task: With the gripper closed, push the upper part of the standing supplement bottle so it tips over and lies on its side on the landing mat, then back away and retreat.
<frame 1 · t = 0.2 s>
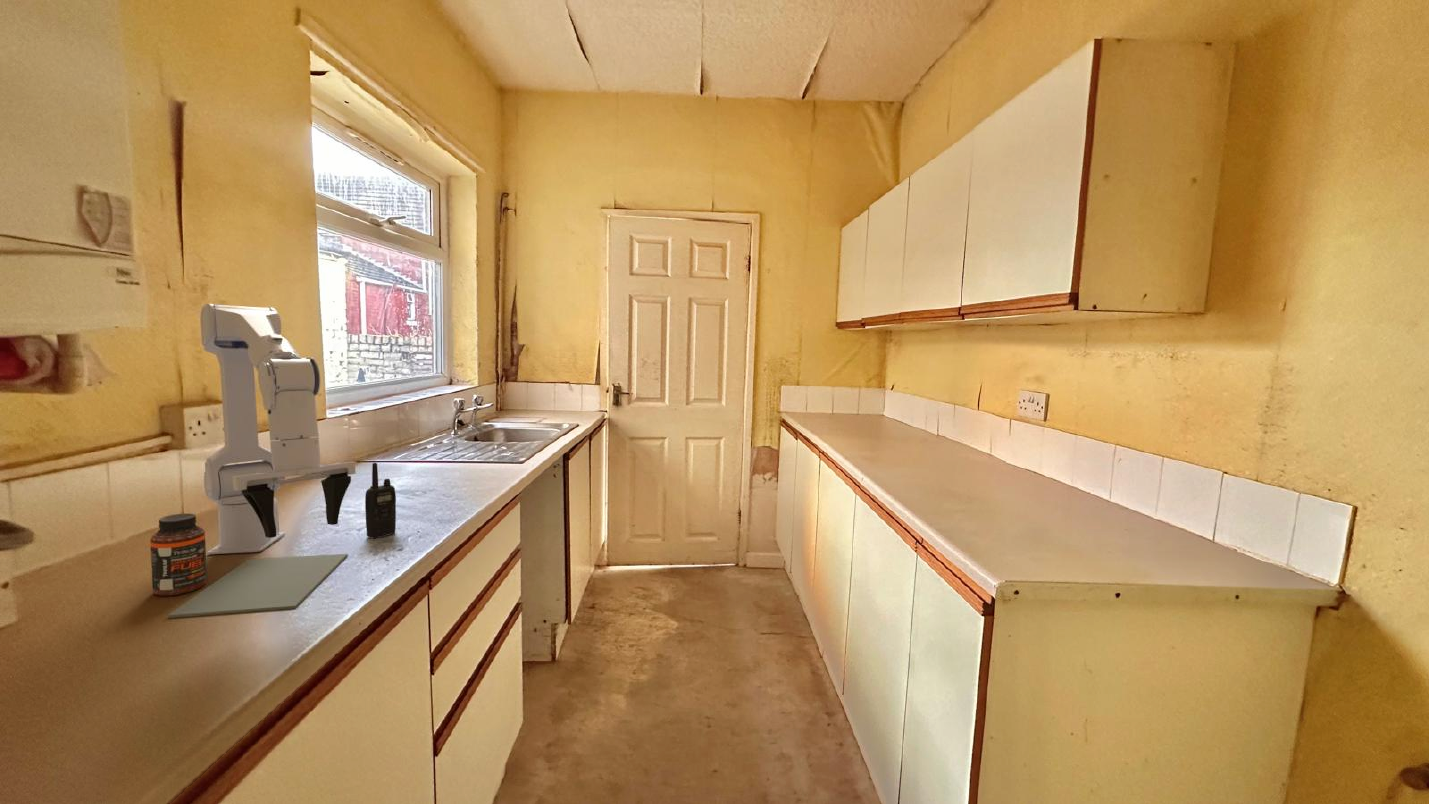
hand: (302, 530, 81), 11 cm above the worktop, tool pointing down, fingers open, 7 cm apart
landing mat: (269, 582, 86), on the worktop
supplement bottle: (180, 590, 83), on the worktop
two-way radio: (379, 535, 109), on the worktop
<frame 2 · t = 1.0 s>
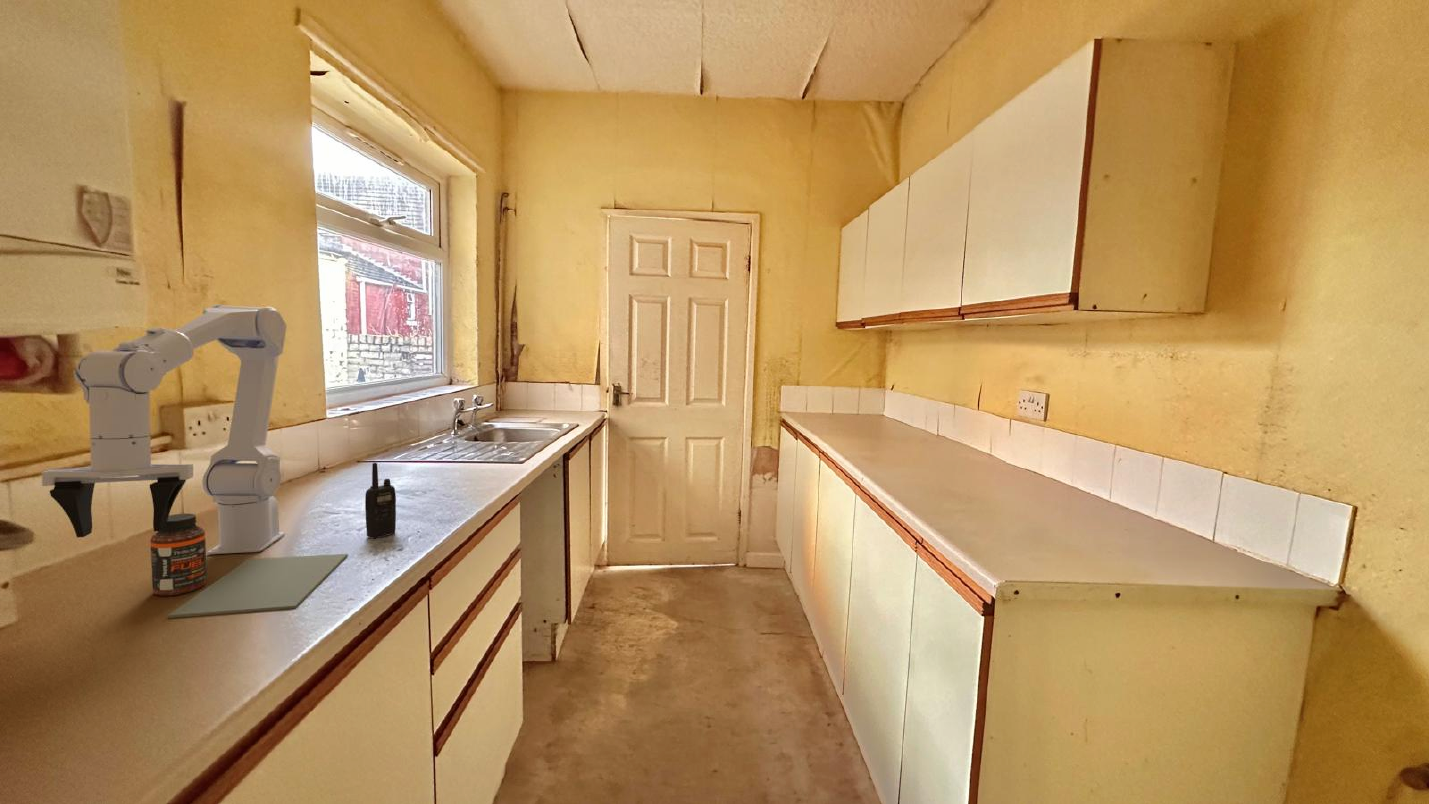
hand: (123, 532, 77), 11 cm above the worktop, tool pointing down, fingers open, 7 cm apart
nothing on the worktop moved.
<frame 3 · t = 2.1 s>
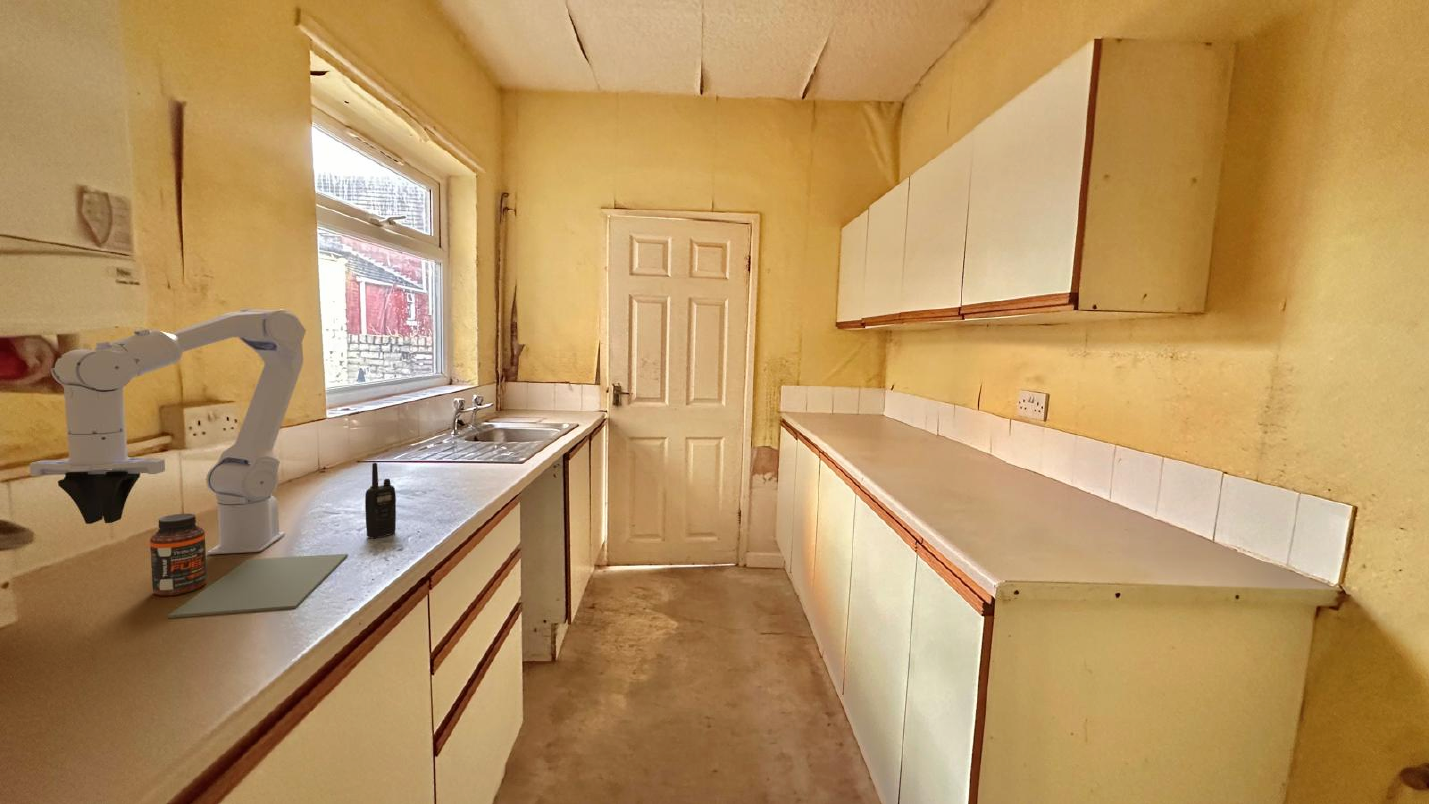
hand: (103, 521, 81), 10 cm above the worktop, tool pointing down, fingers closed
nothing on the worktop moved.
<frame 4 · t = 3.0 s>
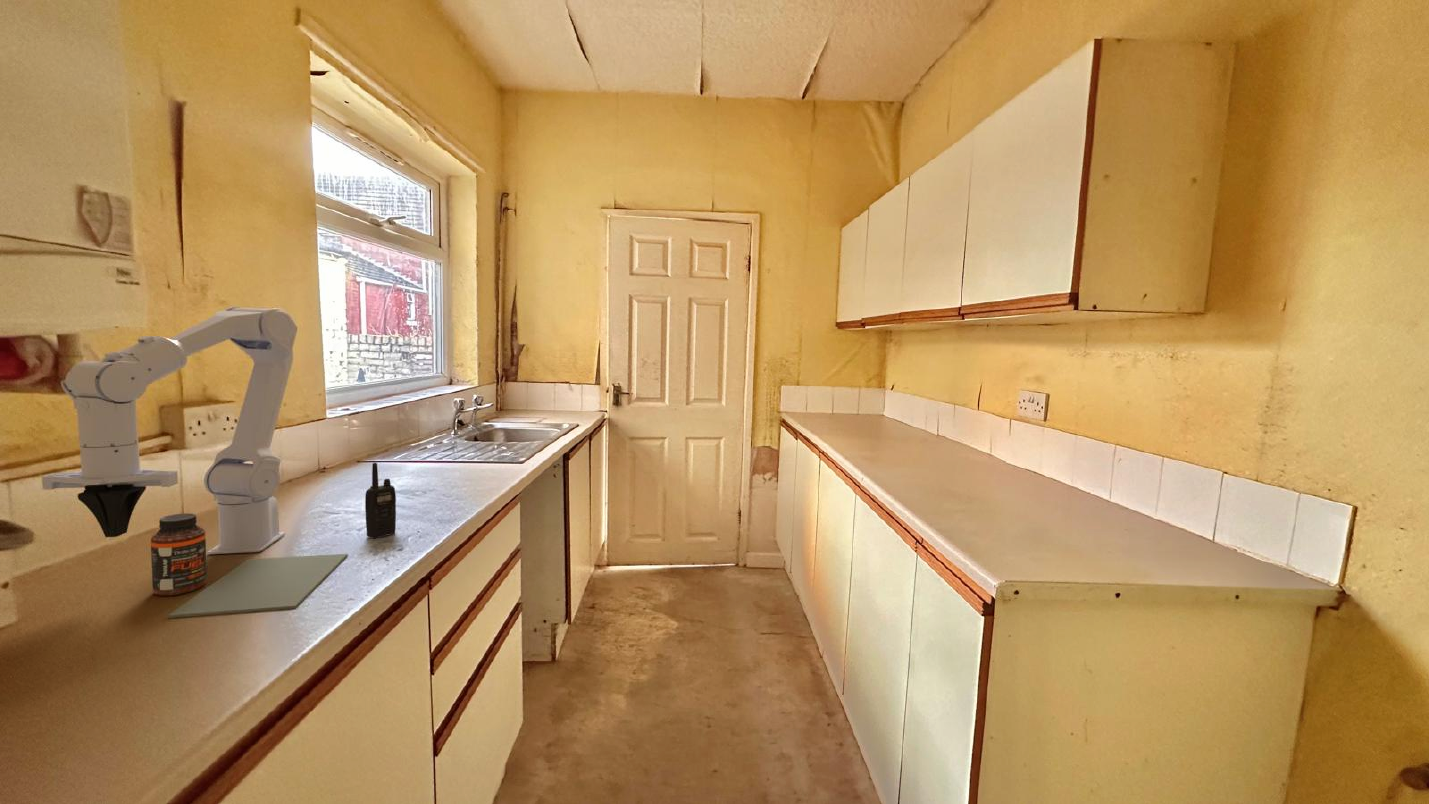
hand: (116, 534, 80), 9 cm above the worktop, tool pointing down, fingers closed
nothing on the worktop moved.
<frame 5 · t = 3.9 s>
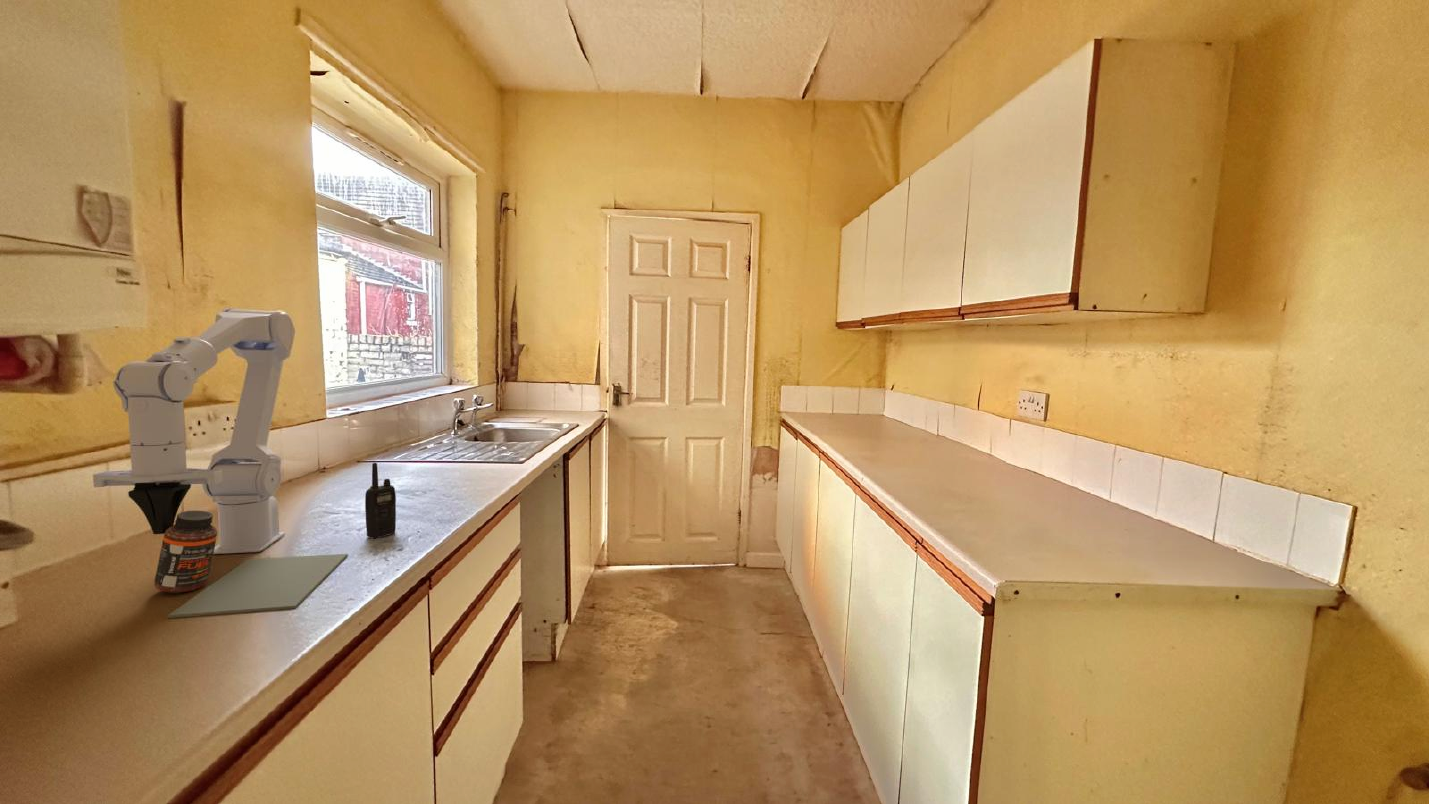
hand: (163, 532, 82), 9 cm above the worktop, tool pointing down, fingers closed
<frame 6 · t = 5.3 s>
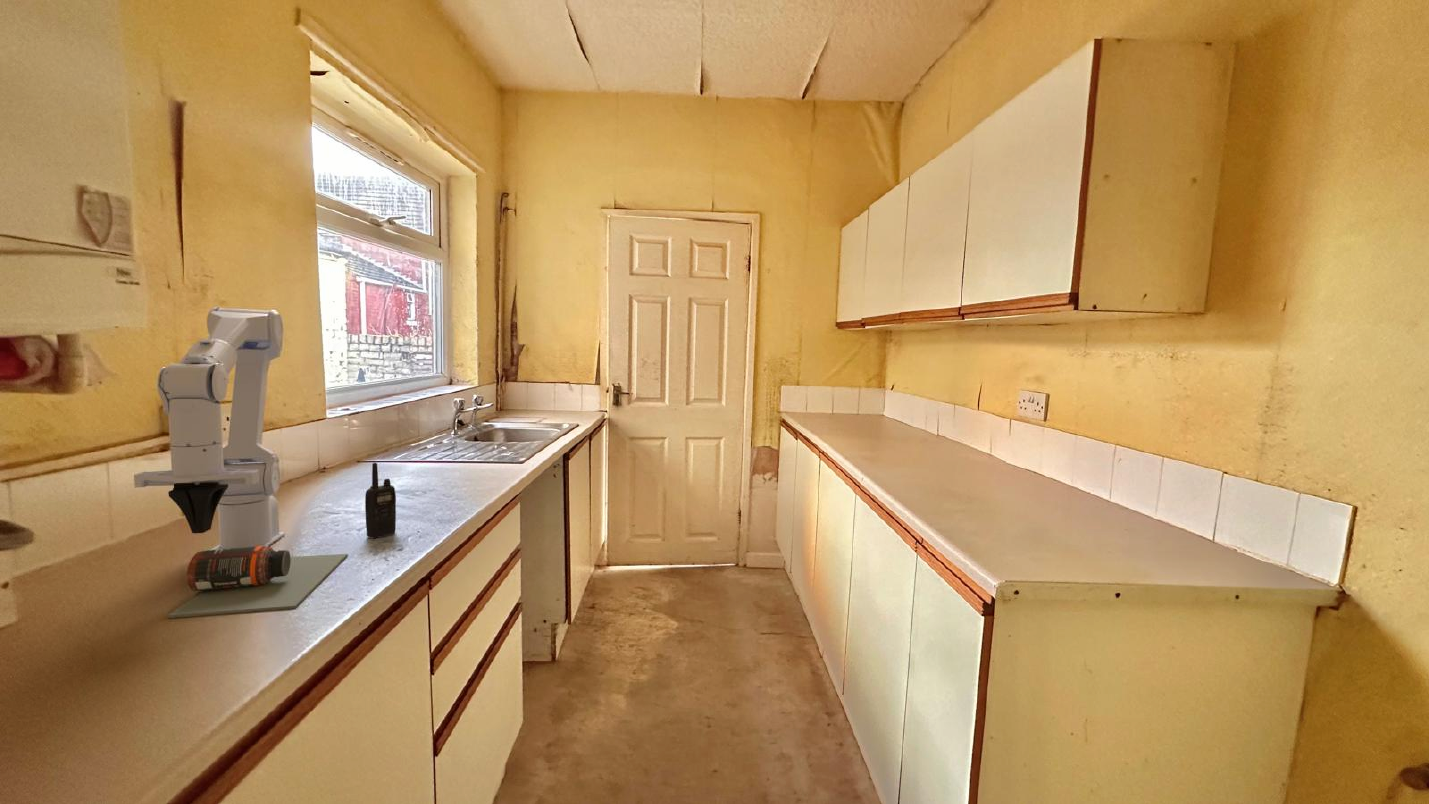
hand: (201, 531, 83), 9 cm above the worktop, tool pointing down, fingers closed
supplement bottle: (193, 571, 82), point 3 cm above the worktop, touching landing mat
everything else where it was.
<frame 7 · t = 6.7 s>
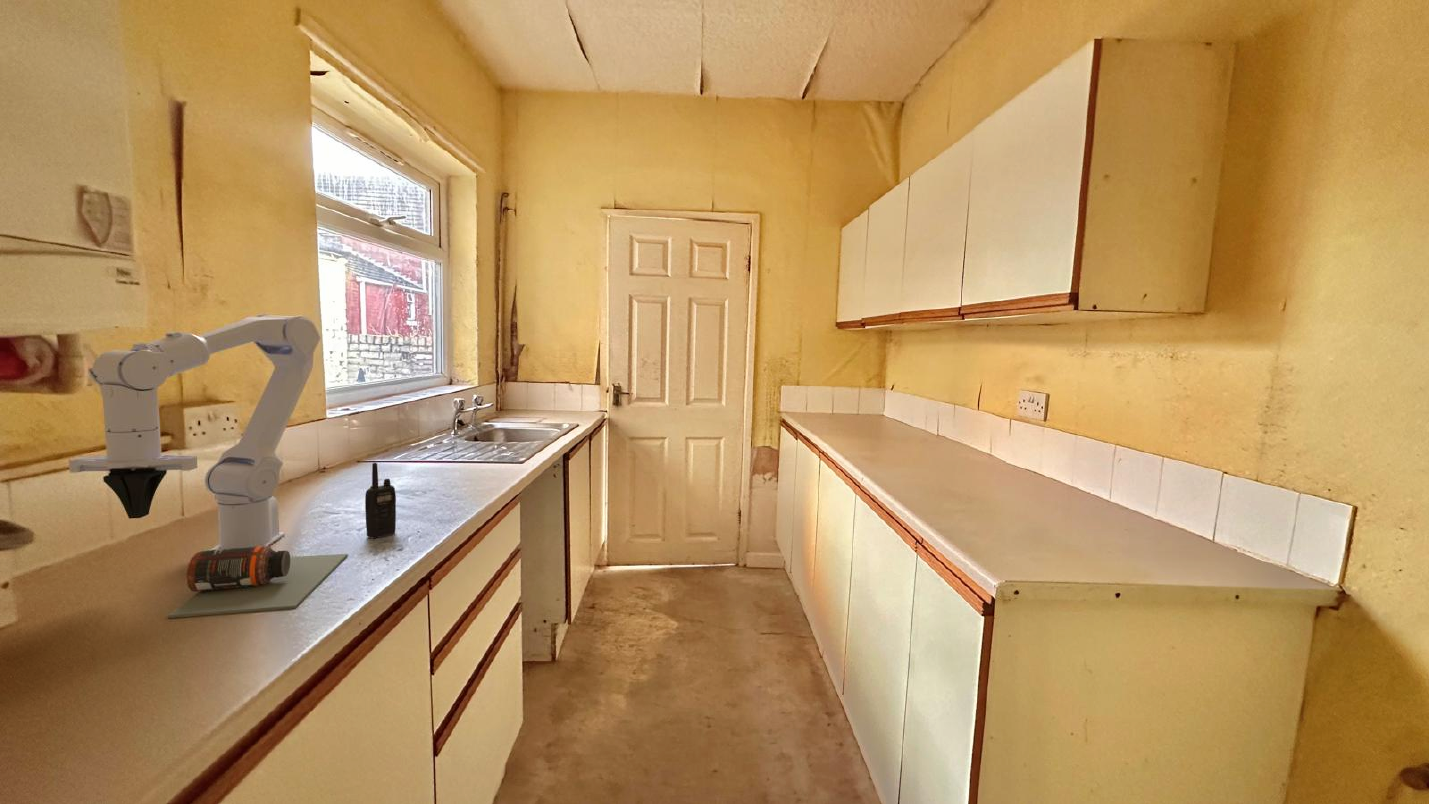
hand: (138, 516, 84), 10 cm above the worktop, tool pointing down, fingers closed
nothing on the worktop moved.
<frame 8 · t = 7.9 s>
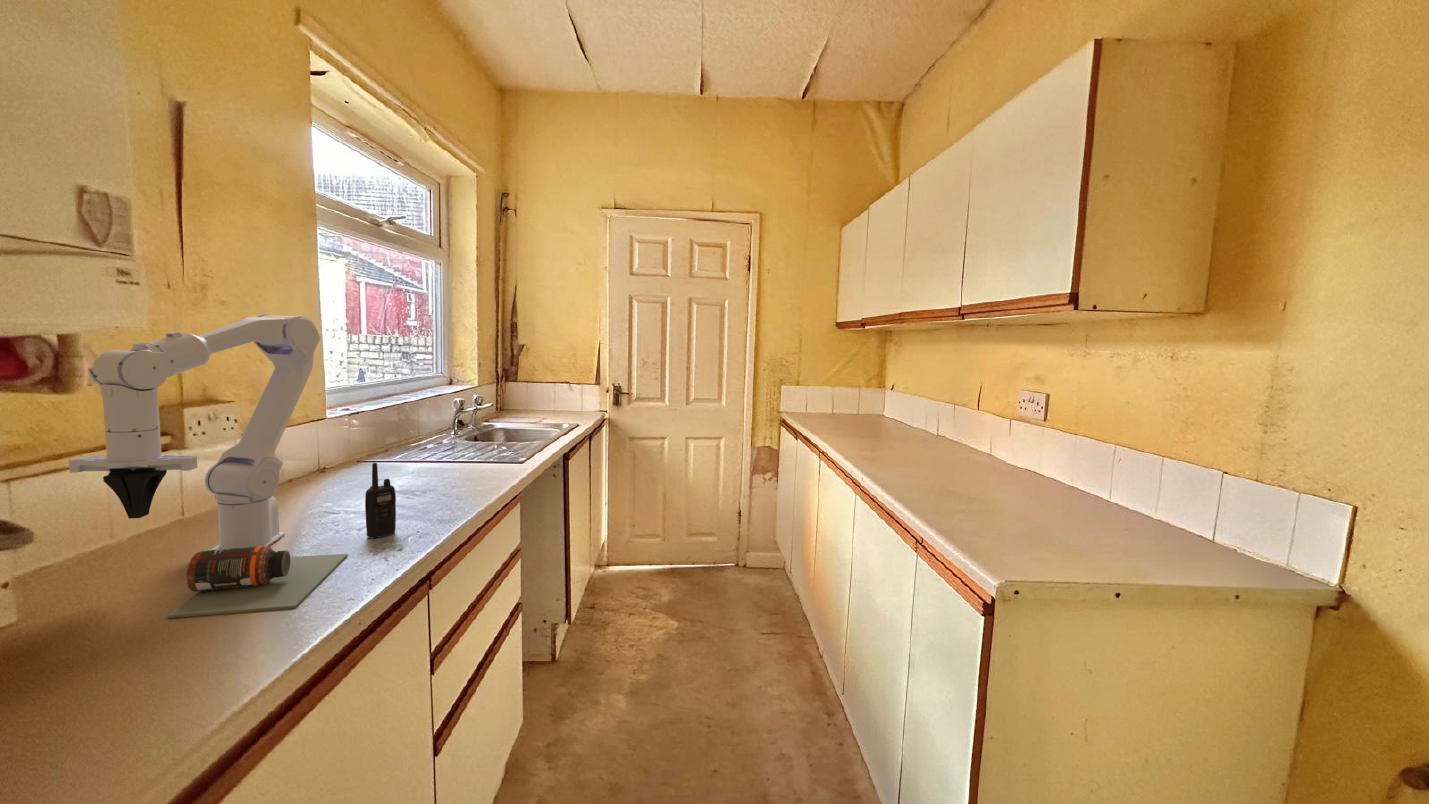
hand: (138, 516, 84), 10 cm above the worktop, tool pointing down, fingers closed
nothing on the worktop moved.
at the end: supplement bottle tilted 90°; supplement bottle touching landing mat; the gripper is holding nothing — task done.
